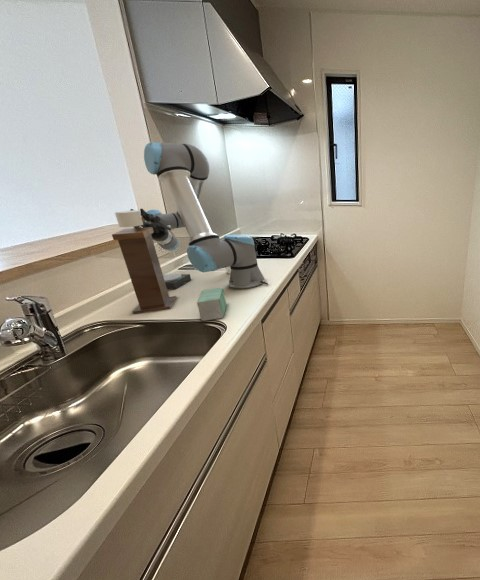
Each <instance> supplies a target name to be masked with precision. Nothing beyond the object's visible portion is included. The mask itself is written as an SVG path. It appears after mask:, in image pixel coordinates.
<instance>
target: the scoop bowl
mask: <svg viewBox="0 0 480 580" xmlns="http://www.w3.org/2000/svg"><path fill="white" fill-rule="evenodd" d="M114 216H115V218H116V221H117V224H118V227H119V228H134V226H140V227H141V225H143V222H144V221H145V222H146V220H145V219H144V218H143V217H142V216H141V212H140V210H139V209H137V210H136V209H135V210H134V209H133V210H131V211H130V210H121V211H115V212H114Z"/></svg>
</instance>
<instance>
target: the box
mask: <svg viewBox="0 0 480 580" xmlns="http://www.w3.org/2000/svg"><path fill="white" fill-rule="evenodd" d="M196 306H197V309H198V313H199V317H200V320H201V321H203V322H205V321H211V320H212V321H213V320H219V319H223V318H224V316H225V312H226V307H227V301H226V297H225V292H224V288H223V287H219V288H211V289H204V290H202V291H201V293H200V295H199V297H198V299H197V301H196Z"/></svg>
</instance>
